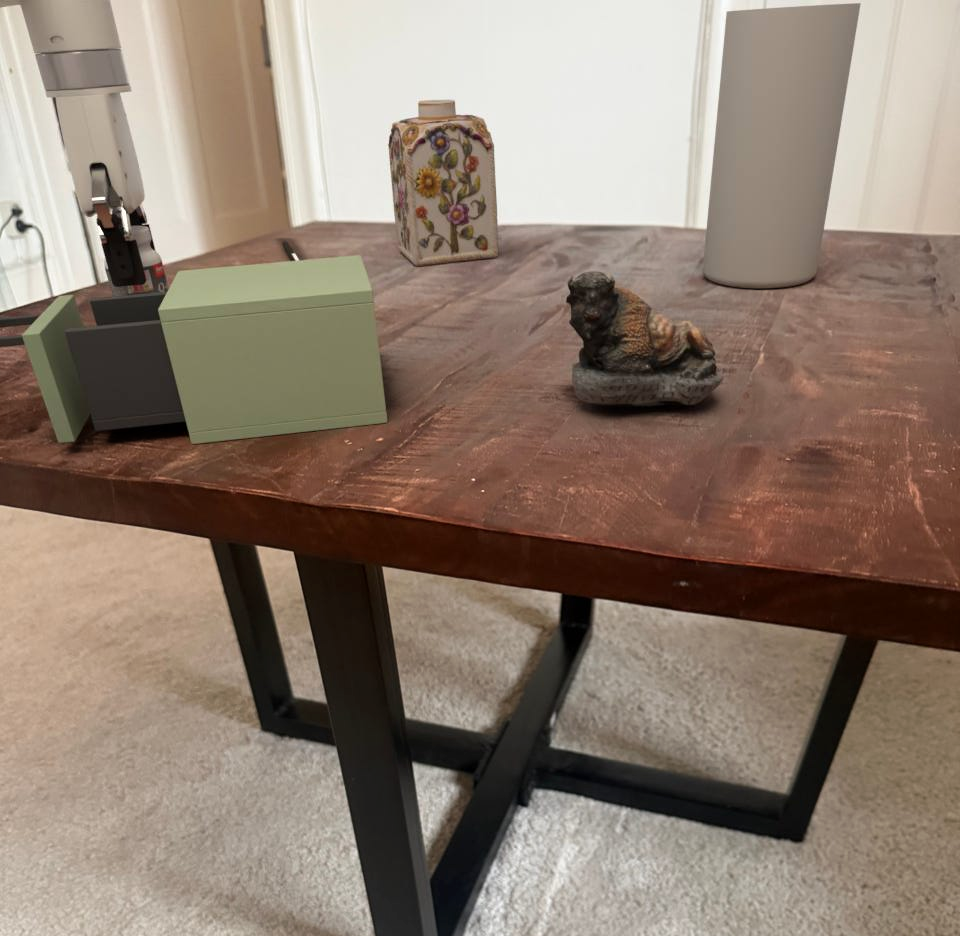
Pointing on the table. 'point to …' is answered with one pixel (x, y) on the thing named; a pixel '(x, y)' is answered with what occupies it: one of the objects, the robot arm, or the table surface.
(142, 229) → the pill bottle
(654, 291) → the table surface
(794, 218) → the cylinder vase
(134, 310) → the pull-out drawer
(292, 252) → the pen
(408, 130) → the decorative jar
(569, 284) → the bison figurine
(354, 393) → the sage green drawer box
